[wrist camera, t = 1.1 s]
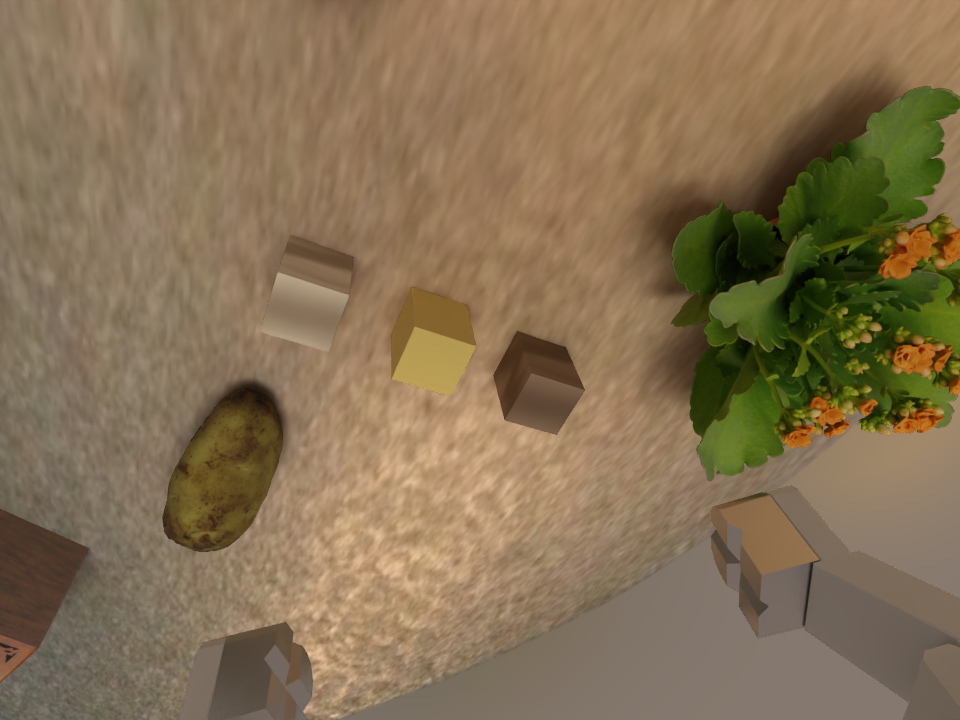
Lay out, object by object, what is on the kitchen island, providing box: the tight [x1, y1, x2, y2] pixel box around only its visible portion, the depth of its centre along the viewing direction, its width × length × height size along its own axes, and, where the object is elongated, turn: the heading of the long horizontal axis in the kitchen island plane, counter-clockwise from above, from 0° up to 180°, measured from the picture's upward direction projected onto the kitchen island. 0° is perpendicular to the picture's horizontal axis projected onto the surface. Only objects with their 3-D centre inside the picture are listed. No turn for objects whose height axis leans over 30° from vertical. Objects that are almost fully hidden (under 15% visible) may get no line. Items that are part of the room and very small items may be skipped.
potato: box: [162, 389, 283, 552], centre depth 49 cm, size 8×13×8 cm, turn 133°
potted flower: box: [671, 86, 960, 481], centre depth 42 cm, size 25×24×18 cm
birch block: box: [260, 235, 354, 352], centre depth 42 cm, size 4×4×6 cm
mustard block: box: [391, 287, 476, 396], centre depth 45 cm, size 4×4×6 cm
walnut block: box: [494, 331, 585, 435], centre depth 49 cm, size 4×4×6 cm
